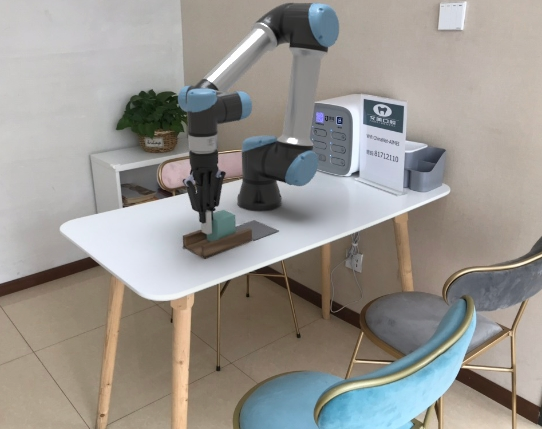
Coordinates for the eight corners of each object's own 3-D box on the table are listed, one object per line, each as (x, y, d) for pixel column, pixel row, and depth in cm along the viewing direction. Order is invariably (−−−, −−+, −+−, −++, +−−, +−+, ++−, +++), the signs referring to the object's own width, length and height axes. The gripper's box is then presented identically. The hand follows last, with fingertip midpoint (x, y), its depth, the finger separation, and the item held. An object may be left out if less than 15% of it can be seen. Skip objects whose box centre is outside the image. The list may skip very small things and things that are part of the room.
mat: (229, 229, 163) (229, 228, 163) (254, 220, 169) (254, 219, 169) (254, 240, 155) (254, 239, 155) (278, 231, 162) (278, 230, 162)
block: (206, 239, 153) (205, 215, 150) (224, 233, 157) (223, 209, 155) (218, 245, 150) (217, 220, 147) (235, 239, 154) (235, 214, 151)
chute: (183, 246, 151) (182, 235, 150) (229, 230, 162) (229, 219, 161) (205, 258, 144) (204, 247, 143) (251, 240, 155) (251, 229, 154)
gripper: (191, 157, 133) (195, 243, 142) (231, 148, 142) (233, 230, 151) (174, 151, 138) (179, 234, 147) (214, 142, 147) (216, 222, 156)
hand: (206, 232), depth 149 cm, fingers closed
